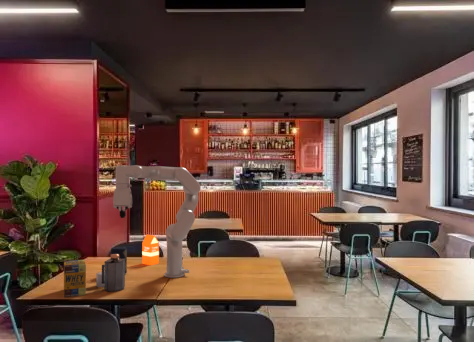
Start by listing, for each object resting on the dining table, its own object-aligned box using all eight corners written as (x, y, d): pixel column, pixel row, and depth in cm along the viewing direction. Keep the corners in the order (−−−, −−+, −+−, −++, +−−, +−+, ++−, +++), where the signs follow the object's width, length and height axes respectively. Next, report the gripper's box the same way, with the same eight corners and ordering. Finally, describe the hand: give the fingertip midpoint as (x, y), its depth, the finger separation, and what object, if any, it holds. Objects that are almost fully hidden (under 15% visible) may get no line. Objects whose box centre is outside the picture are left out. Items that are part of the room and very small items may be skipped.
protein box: (63, 297, 200) (63, 266, 200) (63, 289, 214) (63, 260, 214) (85, 295, 204) (86, 265, 204) (84, 287, 218) (84, 259, 218)
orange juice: (150, 261, 283) (150, 233, 283) (159, 263, 278) (159, 234, 278) (141, 263, 277) (142, 235, 277) (150, 265, 272) (150, 236, 272)
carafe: (126, 286, 219) (127, 258, 220) (120, 291, 209) (120, 262, 210) (105, 286, 220) (105, 258, 220) (98, 291, 210) (98, 262, 210)
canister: (122, 276, 240) (122, 247, 241) (107, 276, 242) (108, 246, 243) (129, 273, 250) (129, 244, 250) (115, 272, 252) (115, 244, 252)
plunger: (123, 277, 218) (123, 253, 218) (118, 280, 211) (119, 256, 211) (110, 277, 219) (110, 253, 219) (105, 280, 211) (105, 255, 212)
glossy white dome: (111, 284, 224) (111, 271, 225) (106, 287, 217) (106, 274, 218) (99, 284, 225) (99, 271, 225) (94, 287, 218) (94, 274, 218)
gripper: (136, 186, 236) (137, 217, 236) (112, 186, 236) (112, 217, 236) (133, 186, 228) (133, 218, 228) (107, 186, 229) (107, 218, 229)
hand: (122, 217), depth 232 cm, fingers closed
